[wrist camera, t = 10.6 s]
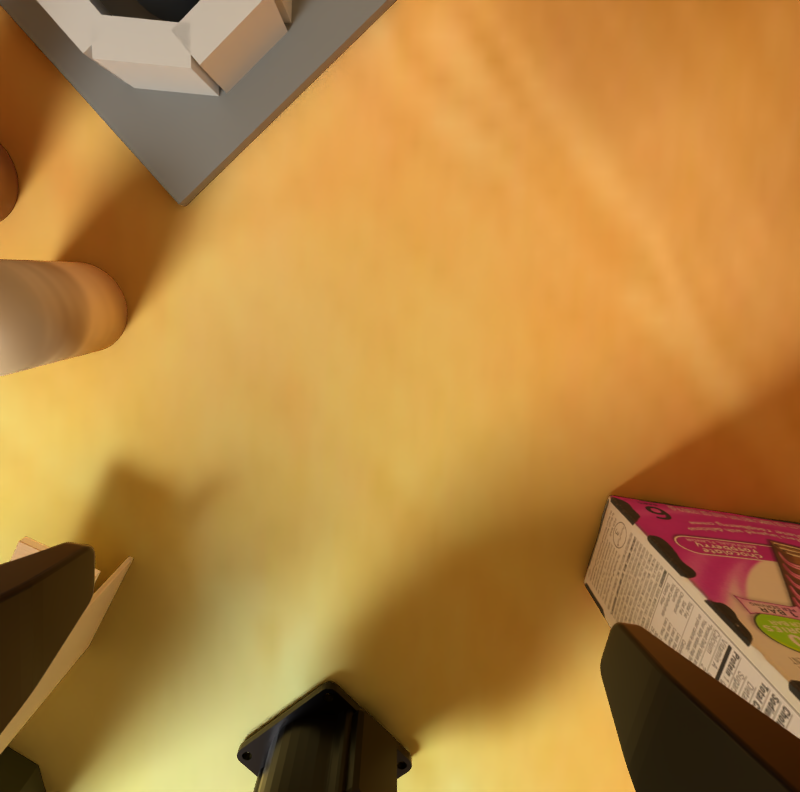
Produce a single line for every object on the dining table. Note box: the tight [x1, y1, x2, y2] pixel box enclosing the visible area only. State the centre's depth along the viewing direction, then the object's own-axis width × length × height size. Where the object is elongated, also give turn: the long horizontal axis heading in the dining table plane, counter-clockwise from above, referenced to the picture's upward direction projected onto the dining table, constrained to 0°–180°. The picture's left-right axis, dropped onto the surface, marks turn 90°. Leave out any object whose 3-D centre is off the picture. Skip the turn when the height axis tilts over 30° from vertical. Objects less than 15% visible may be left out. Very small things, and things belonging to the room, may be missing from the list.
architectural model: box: [0, 537, 133, 754], centre depth 20 cm, size 3×7×7 cm, turn 150°
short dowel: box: [0, 259, 127, 376], centre depth 18 cm, size 4×4×5 cm
